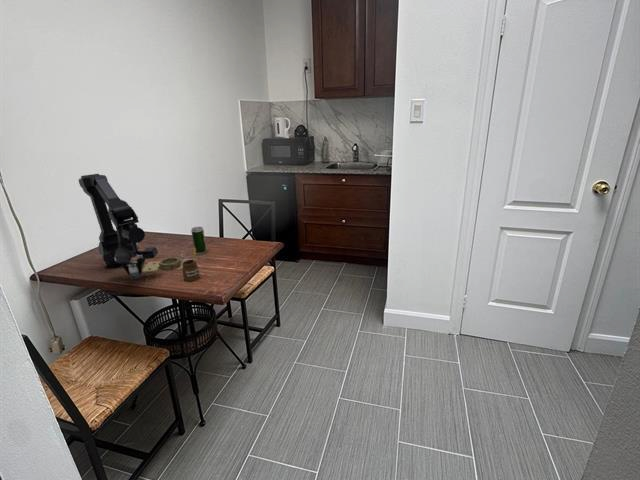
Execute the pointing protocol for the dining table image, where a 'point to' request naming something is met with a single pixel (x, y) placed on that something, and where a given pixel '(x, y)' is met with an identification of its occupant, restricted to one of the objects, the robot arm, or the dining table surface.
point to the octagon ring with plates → (165, 264)
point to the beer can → (199, 240)
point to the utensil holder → (190, 269)
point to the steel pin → (133, 269)
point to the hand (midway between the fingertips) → (135, 273)
